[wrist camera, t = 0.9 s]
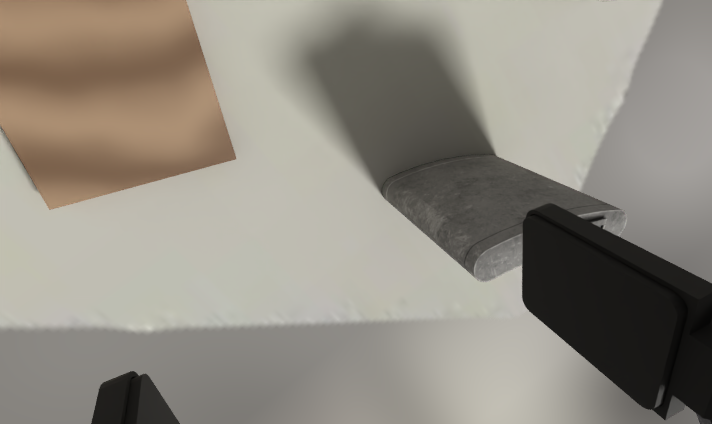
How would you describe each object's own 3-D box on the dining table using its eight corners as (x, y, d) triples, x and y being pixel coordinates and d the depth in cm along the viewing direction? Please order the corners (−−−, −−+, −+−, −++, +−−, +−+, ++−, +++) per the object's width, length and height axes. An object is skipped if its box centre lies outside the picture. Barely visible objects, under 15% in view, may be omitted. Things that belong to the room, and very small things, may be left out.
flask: (380, 171, 41) (496, 259, 26) (500, 145, 45) (661, 207, 30) (382, 204, 43) (492, 305, 28) (497, 176, 47) (649, 250, 32)
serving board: (-103, -75, 24) (-119, -81, 22) (152, -104, 27) (151, -110, 26) (54, 202, 32) (49, 209, 31) (234, 154, 35) (236, 159, 34)
